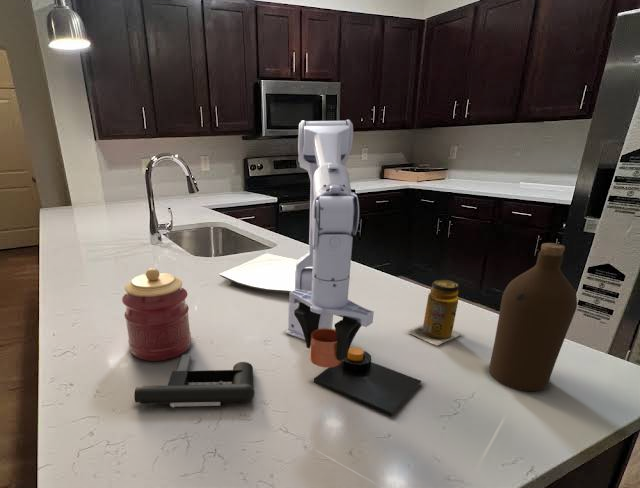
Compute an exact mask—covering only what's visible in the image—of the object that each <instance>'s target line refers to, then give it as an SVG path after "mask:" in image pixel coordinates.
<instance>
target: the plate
mask: <svg viewBox="0 0 640 488" xmlns="http://www.w3.org/2000/svg"><path fill="white" fill-rule="evenodd" d="M297 261H298V259H296V258H290V257H285V256H281V255H276V254H272V253H264V254H262V255H259V256H258V257H255V258H253V259H251V260H249V261H246V262H244V263H242V264H240V265H239V264H238V265H237V266H235V267H233V268H230V269H228V270H225V271H222V272H220V273H219V276H220V277H221V278H223V279H225V280H228V281H230V282H232V283H235V284H237V285H240V286H243V287H247V288H251V289H256V290H259V291H264V292H272V293H281V294H282V293H283V294H290V292H291V291H293V290H295V270H296V263H297ZM306 268H313V267H306Z"/></svg>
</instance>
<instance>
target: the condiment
mask: <svg viewBox="0 0 640 488" xmlns="http://www.w3.org/2000/svg"><path fill="white" fill-rule="evenodd" d="M459 286H460V285H459V284H458V283H456V282H455V281H452V280H448V279H438V280H434V281H433V282H432V283H431V288H430V292H429V293H428V295H427V300H426V305H425V306H426V307H425V313H424V319H423V325H422V326H420V327H417V328H415V329H413V330H409V331H408V333H409V334H411V335H413V336H414V337H417V338H418V339H421V340H423V341H424V342H427V343H430V344H432V345H434V346H440V345H441V344H443V343H446V342H448V341H451V340H453V339H456V338H458V337H459V336H460V334H459V333H458V332H457V333H456V332H454V331H453V329H454V324H455V319H456V313H457V309H458V304H459V296H458V295H459V289H460V287H459Z"/></svg>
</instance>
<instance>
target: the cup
mask: <svg viewBox="0 0 640 488" xmlns="http://www.w3.org/2000/svg"><path fill="white" fill-rule="evenodd" d="M336 353H337V335H336V330H335V328H332V329H329V328H320V329H316V330H314V331H312V333H311V335H310V349H309V361H310V363H312V364H313V365H315V366H317V367H320V368H326V369H328V368H330V367H336V366H338V365H340V364H341V362H342V360H341V361H340V360H337V356H336Z"/></svg>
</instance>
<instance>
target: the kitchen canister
mask: <svg viewBox="0 0 640 488" xmlns="http://www.w3.org/2000/svg"><path fill="white" fill-rule="evenodd" d="M182 286H183V281H182V280H181V279H180V278H179V277H176V276H174V275H173V274H171V273H167V272H160V271H159V270H158V269H157V268H156V267H149V268H148V269H147V270H146V272H145V273H144V274H140V275H138V276H135V277H134V278H132V279H131V281H129V282H127V284H126V285H125V287H124V290H125V292H126V293H125V294H123V296H122V297H121V301H122V304H123V305H124V306H125V311H124V318H125V322H126V329H127V335H128V336H127V337H128V339H127V342H128V347H129V349H130V352H131V354H132V355H133V356H134V357H136V358H137V359H140V360H144V361H149V362H150V361H151V362H153V361H155V362H157V361H159V362H160V361H167V360H170V359H173V358H177V357H178V356H182V355H183V354H184V353H185V352H187V350H189V348H190V346H191V341H192V333H191V330H190V318H189V305H188V304H187V302H186V300H187V298H188V291H187V290H186V288H184V287H182Z"/></svg>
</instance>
